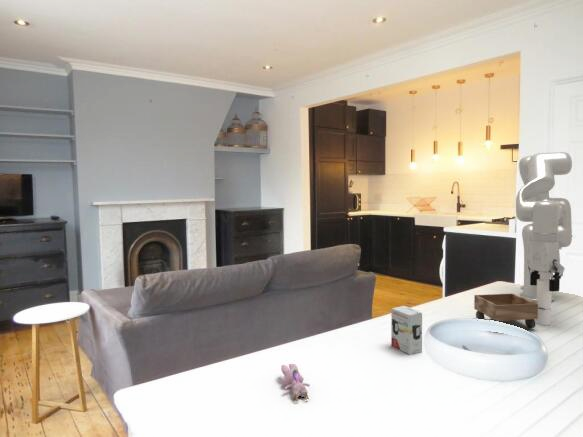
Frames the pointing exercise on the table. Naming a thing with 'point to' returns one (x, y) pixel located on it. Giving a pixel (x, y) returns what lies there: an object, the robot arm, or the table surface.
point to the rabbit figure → (294, 381)
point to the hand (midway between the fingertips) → (544, 288)
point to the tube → (543, 302)
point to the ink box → (406, 329)
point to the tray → (506, 308)
